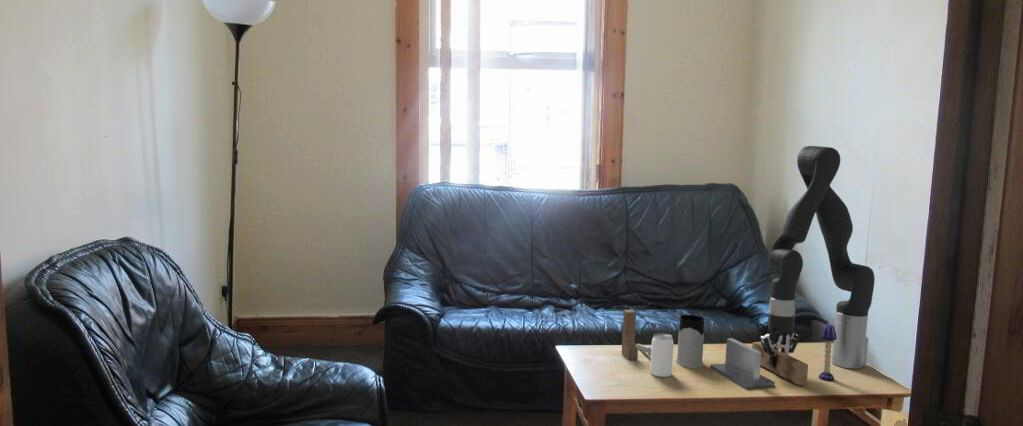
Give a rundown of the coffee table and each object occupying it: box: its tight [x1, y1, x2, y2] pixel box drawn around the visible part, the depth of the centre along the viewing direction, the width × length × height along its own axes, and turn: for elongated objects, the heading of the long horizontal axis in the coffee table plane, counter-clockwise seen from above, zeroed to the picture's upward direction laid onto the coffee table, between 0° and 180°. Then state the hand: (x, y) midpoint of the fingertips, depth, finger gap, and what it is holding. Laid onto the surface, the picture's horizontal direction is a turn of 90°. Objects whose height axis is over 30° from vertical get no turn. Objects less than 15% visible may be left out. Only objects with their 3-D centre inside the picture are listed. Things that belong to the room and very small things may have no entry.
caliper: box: [635, 343, 652, 357], centre depth 224 cm, size 20×1×6 cm, turn 7°
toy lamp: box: [818, 324, 837, 382], centre depth 206 cm, size 5×5×17 cm
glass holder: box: [675, 314, 705, 369], centre depth 220 cm, size 9×14×15 cm, turn 157°
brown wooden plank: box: [751, 341, 809, 386], centre depth 210 cm, size 22×3×6 cm, turn 17°
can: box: [649, 332, 675, 378], centre depth 206 cm, size 6×6×12 cm
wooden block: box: [621, 309, 639, 361], centre depth 222 cm, size 7×3×15 cm, turn 10°
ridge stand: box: [709, 337, 776, 390], centre depth 206 cm, size 10×18×10 cm, turn 17°
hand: (777, 366), depth 210 cm, fingers closed on brown wooden plank, 3 cm apart
